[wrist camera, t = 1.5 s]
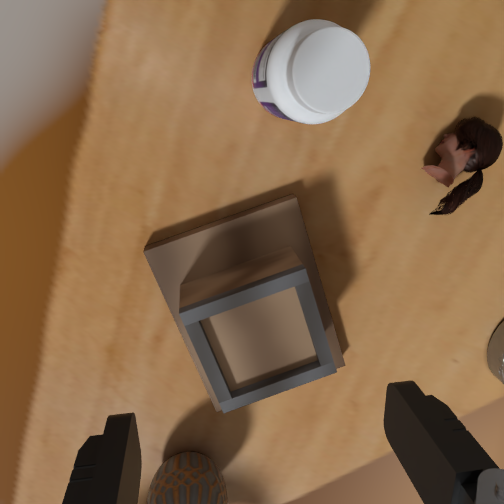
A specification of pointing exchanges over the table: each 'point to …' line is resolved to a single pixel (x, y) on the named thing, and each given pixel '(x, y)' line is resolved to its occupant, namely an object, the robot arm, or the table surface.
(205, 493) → the vase
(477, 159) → the head bust
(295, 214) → the display stand
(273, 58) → the pill bottle
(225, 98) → the table surface
